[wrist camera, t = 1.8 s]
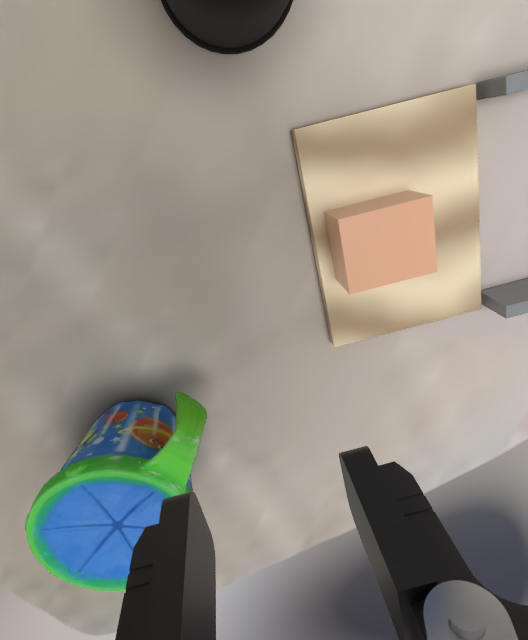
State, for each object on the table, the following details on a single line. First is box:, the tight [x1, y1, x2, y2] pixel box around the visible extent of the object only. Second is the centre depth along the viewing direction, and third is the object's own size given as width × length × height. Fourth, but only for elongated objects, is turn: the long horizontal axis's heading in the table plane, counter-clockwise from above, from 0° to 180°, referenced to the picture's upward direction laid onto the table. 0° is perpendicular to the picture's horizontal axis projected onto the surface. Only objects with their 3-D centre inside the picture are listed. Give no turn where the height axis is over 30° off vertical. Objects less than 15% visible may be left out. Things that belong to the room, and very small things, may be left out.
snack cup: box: [25, 392, 207, 591], centre depth 31 cm, size 16×10×10 cm
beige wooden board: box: [291, 84, 481, 347], centre depth 31 cm, size 16×12×1 cm
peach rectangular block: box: [324, 190, 438, 294], centre depth 28 cm, size 5×6×4 cm
